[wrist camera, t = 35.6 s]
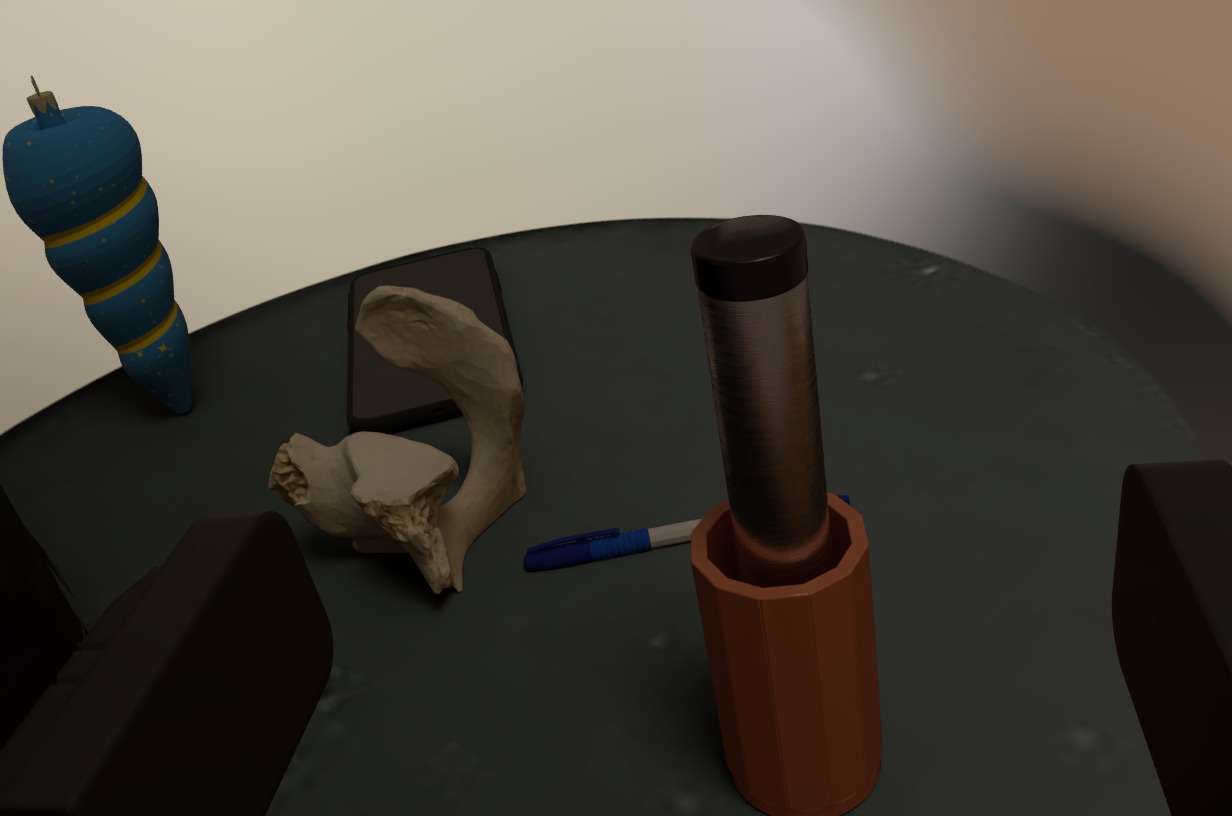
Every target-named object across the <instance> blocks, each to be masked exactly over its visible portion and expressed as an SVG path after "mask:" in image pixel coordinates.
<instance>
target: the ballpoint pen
mask: <svg viewBox="0 0 1232 816" xmlns="http://www.w3.org/2000/svg"><path fill="white" fill-rule="evenodd" d="M836 496H838V497H839V498H840V499H842V500H843V501H844V502H846V503H847V504H848V505H850V501H849V497H848V495H836ZM701 520H702V519H698V520H693V521H688V522H682V523H677V524H672V525H667V526H662V527H656V528H651V529H644V528H642V529H641V530H638V529H637V530H635V531H633V532H632V531H629V532H628V533H626V532H623V534H620V533H619V528H614V529H608V530H602V531H596V532H591V533H585V534H579V535H574V536H569V537H565V538H560V539H557V540H553V541H550V542H546V543H543V544H540V545H537V546H534V547H532V548H529V549H527V554H526V555H525V557H524V566H525V567H526V569H527V570H529V571H540V570H550V569H557V568H563V567H568V566H573V565H578V564H584V563H589V562H593V560H596V561H599V559H602V560H604V559H605V558H612V557H618V556H619V555H621V556H624V554H627V555H630V553H633V554H635V553H636V552H639V553H641V552H642V551H648V550H650V549H654V548H659V547H664V546H669V545H674V544H680V543H685V542H690V541H691V533H692V531H693V530H694V528H695V527H696V526H697V525H698V524H699V522H700V521H701ZM615 534H617V535H615ZM604 535H606V536H604ZM607 535H611V536H607ZM598 536H600V537H598ZM601 536H604V537H601ZM592 537H598V538H597V539H596V538H592ZM586 538H592V539H591V540H589V539H588V540H587V539H586ZM575 540H576V542H572V543H567V544H562V545H558V544H561V543H566V542H571V541H575ZM554 545H557V546H554ZM551 546H552V547H551ZM547 547H548V548H547ZM544 548H545V549H544Z"/></svg>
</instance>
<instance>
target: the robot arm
mask: <svg viewBox="0 0 1232 816" xmlns="http://www.w3.org/2000/svg"><path fill="white" fill-rule="evenodd" d="M43 558H44V559H43ZM45 561H46V562H47V564H48V565H49V566H50V568H51V569H52V570H53V571H54V573H55V574H56V575H57V577H58V578H59V579H60V580H61V582H62V583H63V584H64V586H65V587H66V588H67V590H68V591H69V592H70V593H71V595H72V596H73V594H72V592H71V590H70V589H69V587H68V585H67V583H66V582H65V580H64V578H63V576H62V575H61V573H60V571H59V569H58V568H57V567H56V565H55V564H54V563H53V561H52V560H51V559H50V558H49V556H48V555H47V554H46V553H45V551H44V550H43V549H42V547H41V546H40V545H39V544H38V542H37V541H36V540H35V538H34V537H33V536H32V535H31V533H30V532H29V531H28V530H27V528H26V527H25V526H24V524H23V523H22V521H21V519H20V517H19V516H18V514H17V512H16V511H15V509H14V507H13V505H12V504H11V502H10V500H9V499H8V497H7V495H6V493H5V492H4V490H3V488H2V487H1V485H0V816H265V815H266V813H267V811H268V808H269V806H270V804H271V802H272V800H273V798H274V796H275V793H276V791H277V789H278V787H279V785H280V783H281V781H282V778H283V776H284V774H285V772H286V770H287V768H288V766H289V763H290V761H291V759H292V757H293V755H294V753H295V751H296V748H297V746H298V744H299V742H300V740H301V738H302V736H303V733H304V731H305V729H306V727H307V725H308V723H309V721H310V718H311V716H312V714H313V712H314V710H315V708H316V706H317V703H318V701H319V699H320V697H321V695H322V693H323V691H324V688H325V686H326V684H327V681H328V679H329V675H330V672H331V667H332V661H333V636H332V629H331V625H330V622H329V619H328V616H327V614H326V611H325V609H324V607H323V604H322V602H321V599H320V597H319V595H318V592H317V590H316V587H315V585H314V583H313V580H312V578H311V575H310V573H309V571H308V568H307V566H306V563H305V561H304V559H303V556H302V554H301V551H300V549H299V547H298V544H297V542H296V539H295V537H294V535H293V532H292V530H291V528H290V526H289V524H288V522H287V521H286V519H285V518H284V517H283V516H282V515H280V514H279V513H277V512H273V511H269V512H252V513H234V514H217V515H205V516H202V517H200V518H198V519H197V520H196V521H195V522H194V523H193V524H192V525H191V526H190V528H189V529H188V530H187V532H186V533H185V535H184V536H183V537H182V539H181V540H180V542H179V543H178V544H177V546H176V547H175V548H174V550H173V551H172V553H171V554H170V555H169V557H168V558H167V560H166V561H165V562H164V564H163V565H162V567H155V568H153V569H152V570H151V571H150V572H148V573H147V574H146V575H145V576H144V577H142V578H141V579H140V580H139V581H137V582H136V583H135V584H134V585H132V586H131V587H130V588H129V589H128V590H126V591H125V592H124V593H123V594H121V595H120V596H119V597H118V598H116V599H115V600H114V601H113V602H112V603H111V604H110V605H109V606H108V608H107V609H106V610H105V612H104V613H103V614H102V616H101V617H100V618H99V620H98V621H97V622H96V624H95V625H94V627H93V628H92V629H91V631H90V632H89V633H88V632H87V630H86V628H85V627H84V625H83V623H82V622H81V620H80V618H79V617H78V615H77V614H76V613H75V612H74V611H73V609H72V608H71V606H70V604H69V602H68V601H67V599H66V597H65V596H64V594H63V592H62V590H61V589H60V587H59V585H58V583H57V582H56V580H55V578H54V576H53V574H52V572H51V571H50V569H49V567H48V566H47V564H46V562H45ZM73 597H74V596H73ZM74 599H75V597H74ZM75 600H76V599H75ZM1112 620H1113V630H1114V638H1115V644H1116V649H1117V654H1118V658H1119V662H1120V666H1121V669H1122V672H1123V675H1124V678H1125V681H1126V684H1127V687H1128V690H1129V692H1130V695H1131V698H1132V701H1133V704H1134V707H1135V710H1136V713H1137V716H1138V719H1139V722H1140V725H1141V728H1142V730H1143V733H1144V736H1145V739H1146V742H1147V745H1148V748H1149V751H1150V754H1151V757H1152V760H1153V763H1154V766H1155V768H1156V771H1157V774H1158V777H1159V780H1160V783H1161V786H1162V789H1163V792H1164V795H1165V798H1166V801H1167V804H1168V806H1169V809H1170V812H1171V815H1172V816H1232V467H1231V465H1230V464H1229V463H1228V462H1227V461H1225V460H1204V461H1186V462H1169V463H1151V464H1134V465H1129V466H1128V468H1127V469H1126V471H1125V474H1124V478H1123V484H1122V493H1121V504H1120V515H1119V526H1118V537H1117V547H1116V558H1115V569H1114V580H1113V591H1112Z"/></svg>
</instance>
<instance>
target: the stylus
mask: <svg viewBox="0 0 1232 816" xmlns="http://www.w3.org/2000/svg"><path fill="white" fill-rule="evenodd" d="M691 255H692V262H693V268H694V275H695V282H696V285H697V288H698V295H699V301H700V308H701V315H702V322H703V329H704V335H705V342H706V349H707V356H708V363H709V369H710V376H711V383H712V390H713V396H714V403H715V410H716V417H717V424H718V430H719V437H720V444H721V451H722V457H723V464H724V471H725V478H726V485H727V491H728V498H729V505H730V512H731V518H732V525H733V532H734V539H735V546H736V552H737V559H738V566H739V573H740V579H741V582H743V583H747V584H751V585H754V586H758V587H761V588H768V587H778V586H788V585H798V584H804V583H806V582H808V581H810V580H812V579H814V578H816V577H818V576H820V575H822V574H824V573H826V572H828V571H830V570H832V569H834V567H833V555H832V544H831V533H830V521H829V510H828V499H827V487H826V476H825V465H824V453H823V442H822V431H821V419H820V408H819V397H818V385H817V374H816V363H815V351H814V340H813V329H812V317H811V306H810V295H809V283H808V259H807V248H806V236H805V231H804V229H803V227H802V226H801V225H800V224H799V223H798V222H796V221H794V220H792V219H789V218H786V217H781V216H773V215H753V216H743V217H738V218H733V219H729V220H725V221H722V222H719V223H716V224H714V225H712V226H710V227H708V228H706V229H704V230H703V231H701V232H700V233H699V234H697V235H696V236H695V238H694V239H693V241H692V244H691Z"/></svg>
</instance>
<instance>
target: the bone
mask: <svg viewBox="0 0 1232 816" xmlns="http://www.w3.org/2000/svg"><path fill="white" fill-rule="evenodd" d="M355 330H356V331H357V332H358V333H359V334H360V335H361V336H362V338H363V339H364V340H365V341H366V342H367V344H368V346H369V347H370V348H371V349H372V350H373V351H374V353H375V354H376V355H377V356H378V357H379V358H381V359H382V360H383V361H385V362H386V363H388V364H389V365H392V366H395V367H398V368H402V369H405V370H408V371H411V372H415V373H420V374H422V375H424V376H426V377H428V378H429V379H431V380H433V381H434V382H436V383H437V384H439V385H440V386H441V387H442V388H443V389H444V390H445V391H446V392H447V393H448V394H449V395H450V397H451V398H452V399H453V400H454V402H455V403H456V404H457V406H458V407H459V409H460V410H461V412H462V413H463V416H464V418H465V420H466V423H467V426H468V429H469V432H470V436H471V440H472V455H471V462H470V466H469V471H468V474H467V476H466V478H465V481H464V483H463V485H462V487H461V488H460V490H459V492H458V493H457V494H456V495H455V496H454V497H453V498H452V499H451V500H450V501H449V502H447V503H446V504H444V505H443V506H441V507H439V505H440V503H441V501H442V499H443V497H444V494H445V492H446V488H447V486H448V485H449V483H450V482H453V481H454V480H455V479H456V478H457V477H458V474H459V467H458V465H457V463H456V461H455V460H454V459H453V458H452V457H451V456H449V455H447V454H446V453H444V452H442V451H440V450H438V449H436V448H434V447H432V446H430V445H427V444H424V443H420V442H416V441H410V440H408V439H405V438H402V437H398V436H393V435H389V434H384V433H377V432H365V431H363V432H357V433H354V434H352V435H350V436H347V437H346V438H345V439H343V440H342V441H341V442H340V443H339V444H338V445H336V446H333V447H325V446H323V445H321V444H319V443H317V442H315V441H314V440H312V439H311V438H308V437H306V436H303V435H301V434H297V433H295V434H294V436H292V437H291V438H290V442H289V443H287V444H284V443H283V445H282V446H281V447H280V449H279V450H278V453H277V454H276V458H275V461H274V466H273V468H272V471H271V473H270V479H269V484H268V487H269V488H270V489H271V490H274V491H275V492H276V493H277V495H278V496H279V497H280V498H281V499H283V500H284V501H285V502H287V503H288V504H290V505H292V506H294V507H296V508H297V509H298V511H299V512H300V513H301V514H302V515H303V517H304V518H305V519H306V520H307V521H308V522H309V523H311V524H312V525H314V526H316V527H317V528H320V529H322V530H324V531H326V532H327V533H328V534H330V535H333V536H342V537H345V538H349V539H352V540H354V541H353V543H352V546H353V547H354V549H355V550H356V551H357V552H360V553H410V555H411V557H412V558H413V560H414V561H415V563H416V564H417V566H418V567H419V569H420V571H421V572H422V574H423V575H424V577H425V579H426V580H427V582H428V584H429V585H430V587H431V588H432V590H433V592H434V593H435V594H440V592H442V590H443V588H449V587H450V586H454V587H455V589H456V590H457V591H458V592H459V591H462V566H463V560H464V556H465V554H466V552H467V549H468V548H469V546H470V545H471V544H472V543H473V541H474V540H475V539H476V538H477V537H478V536H479V535H480V534H481V533H482V532H483V531H484V530H485V529H486V528H487V527H488V526H489V525H491V524H492V523H493V522H494V521H495V520H496V519H497V518H498V517H499V516H500V515H501V514H502V513H503V512H504V511H506V510H507V509H508V508H509V507H510V506H511V505H512V504H513V503H514V502H516V501H517V500H519V499H520V498H522V497H523V496H524V495H525V494H526V486H525V478H524V471H523V469H522V463H521V460H522V451H521V443H520V442H521V425H522V420H523V416H524V399H523V393H522V387H521V383H520V380H519V376H518V371H517V365H516V358H515V356H514V354H513V351H512V349H511V347H510V345H509V343H508V341H507V340H506V339H504V338H503V337H502V336H500V335H499V334H497V333H496V332H494V331H493V330H492V329H490V328H489V327H487V326H486V325H485V324H483V323H482V322H481V321H479V320H478V318H477V317H476V315H475V314H474V312H473V311H472V310H471V309H469V308H467V307H465V306H464V305H462V304H460V303H458V302H455V301H453V300H450V299H447V298H443V297H439V296H435V295H431V294H428V293H425V292H422V291H420V290H417V289H415V288H407V287H396V286H379V287H377V288H376V289H374V290H373V291H372V292H370V293H369V294H368V295H367V296H366V298H365V299H364V300H363V302H362V303H361V308H360V312H359V315H358V318H357V322H356V326H355Z"/></svg>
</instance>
